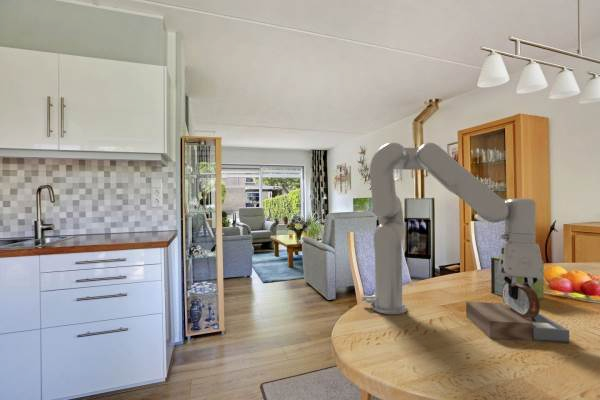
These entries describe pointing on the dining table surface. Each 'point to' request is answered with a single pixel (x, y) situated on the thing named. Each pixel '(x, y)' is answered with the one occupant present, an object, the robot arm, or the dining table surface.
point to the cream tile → (542, 325)
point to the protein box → (498, 282)
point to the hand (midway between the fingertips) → (519, 297)
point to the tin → (522, 300)
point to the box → (549, 331)
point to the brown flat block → (499, 321)
